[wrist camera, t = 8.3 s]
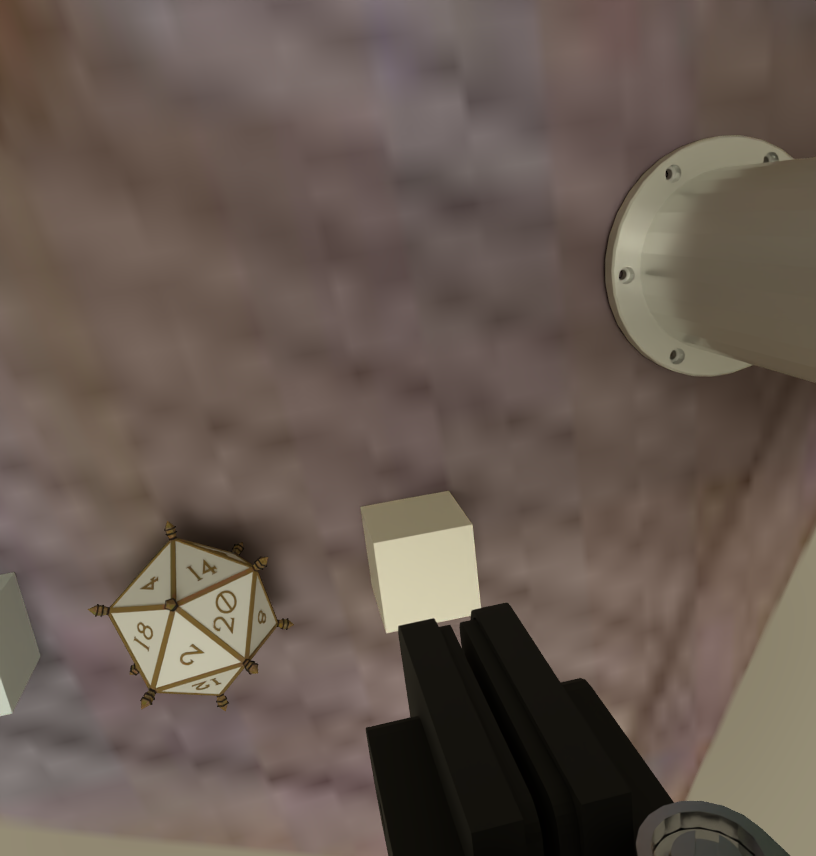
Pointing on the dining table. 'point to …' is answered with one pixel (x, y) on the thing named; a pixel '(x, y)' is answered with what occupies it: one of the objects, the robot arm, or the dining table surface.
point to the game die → (193, 619)
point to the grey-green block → (14, 644)
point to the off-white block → (421, 559)
